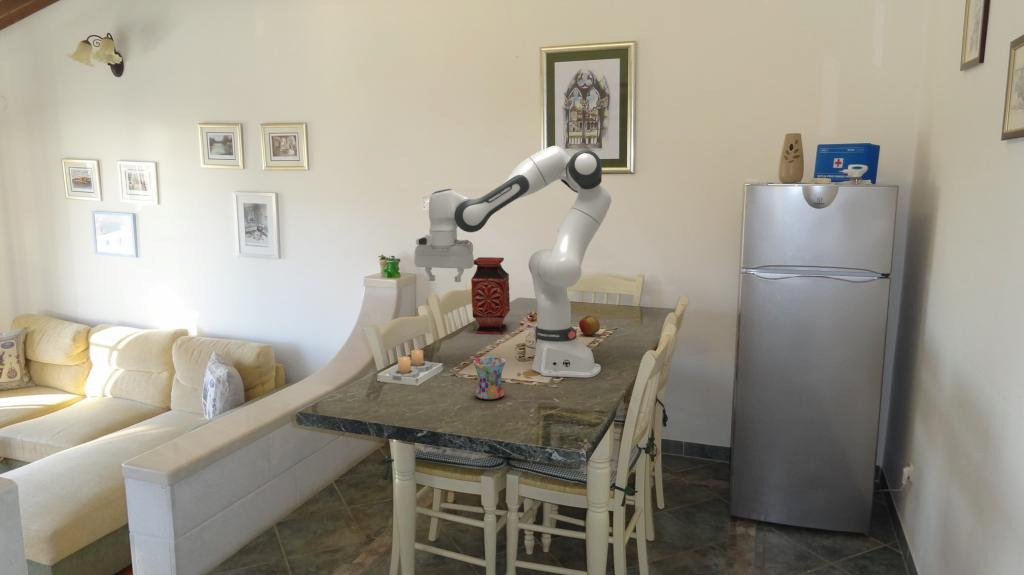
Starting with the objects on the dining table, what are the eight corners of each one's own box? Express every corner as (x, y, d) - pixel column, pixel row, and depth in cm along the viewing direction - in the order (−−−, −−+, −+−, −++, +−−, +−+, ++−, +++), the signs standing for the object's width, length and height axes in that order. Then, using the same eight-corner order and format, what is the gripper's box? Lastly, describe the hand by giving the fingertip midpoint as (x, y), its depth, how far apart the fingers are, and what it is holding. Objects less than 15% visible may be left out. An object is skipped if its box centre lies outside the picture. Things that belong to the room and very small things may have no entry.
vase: (478, 327, 286) (477, 256, 281) (510, 327, 284) (509, 256, 279) (471, 334, 272) (470, 260, 267) (505, 335, 270) (504, 261, 266)
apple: (585, 332, 275) (585, 313, 273) (602, 335, 270) (603, 315, 269) (575, 336, 268) (575, 316, 267) (593, 338, 264) (593, 318, 263)
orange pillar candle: (407, 378, 210) (406, 359, 209) (396, 377, 211) (395, 358, 210) (413, 375, 213) (412, 356, 212) (402, 374, 214) (401, 355, 213)
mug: (502, 402, 190) (501, 366, 188) (470, 400, 191) (469, 364, 190) (510, 389, 201) (510, 355, 200) (480, 387, 203) (479, 353, 201)
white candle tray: (443, 370, 222) (442, 349, 221) (417, 385, 206) (416, 363, 205) (405, 366, 227) (404, 346, 226) (377, 381, 210) (376, 359, 209)
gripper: (476, 239, 220) (477, 281, 222) (420, 238, 227) (421, 278, 229) (468, 240, 214) (469, 284, 216) (411, 239, 221) (413, 281, 223)
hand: (444, 281), depth 222 cm, fingers open, 8 cm apart
